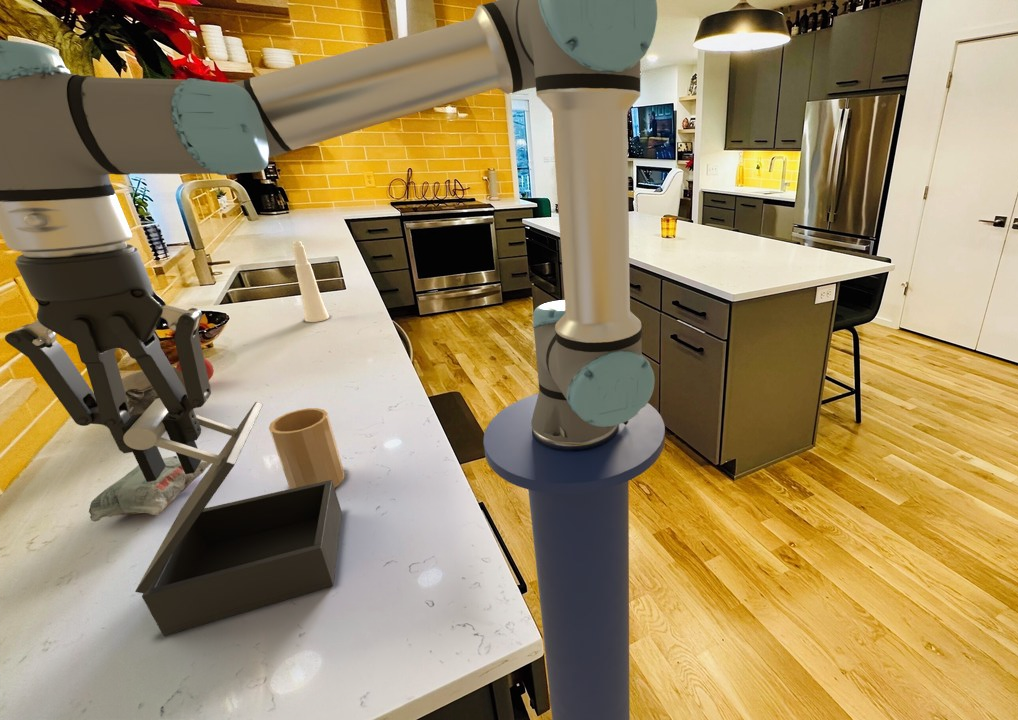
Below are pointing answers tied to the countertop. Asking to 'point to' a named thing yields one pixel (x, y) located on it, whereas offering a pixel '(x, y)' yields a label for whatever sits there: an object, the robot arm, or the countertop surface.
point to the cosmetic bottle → (308, 286)
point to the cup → (307, 448)
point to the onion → (208, 368)
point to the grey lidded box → (249, 557)
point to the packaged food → (144, 491)
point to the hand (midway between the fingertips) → (175, 469)
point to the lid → (149, 435)
